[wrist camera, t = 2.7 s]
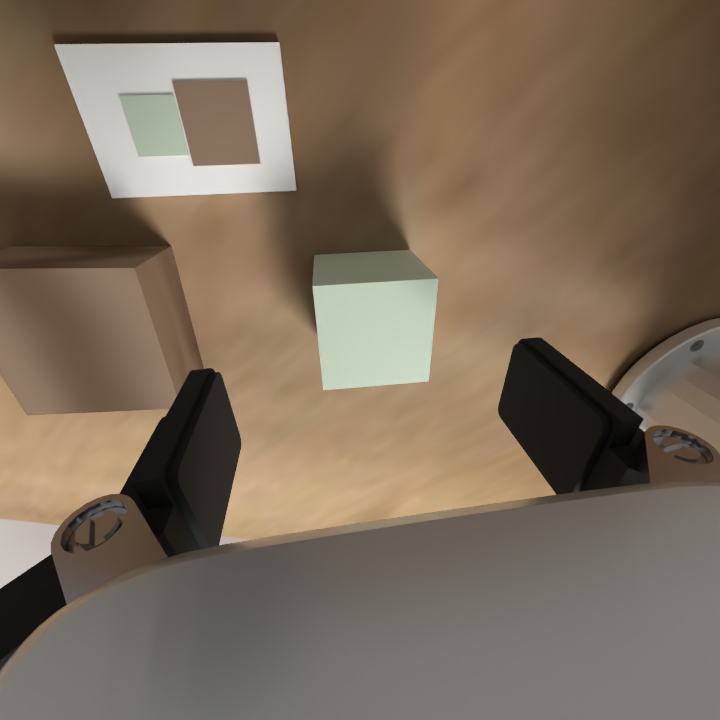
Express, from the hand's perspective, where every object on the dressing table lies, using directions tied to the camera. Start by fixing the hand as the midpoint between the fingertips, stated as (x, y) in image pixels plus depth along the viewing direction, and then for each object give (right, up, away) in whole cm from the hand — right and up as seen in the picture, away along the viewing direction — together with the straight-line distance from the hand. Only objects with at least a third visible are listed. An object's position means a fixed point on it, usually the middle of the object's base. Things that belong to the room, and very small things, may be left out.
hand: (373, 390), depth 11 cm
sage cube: (0, +5, +8) cm, 9 cm away
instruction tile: (-7, +11, +3) cm, 13 cm away
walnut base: (-13, +4, +7) cm, 15 cm away
